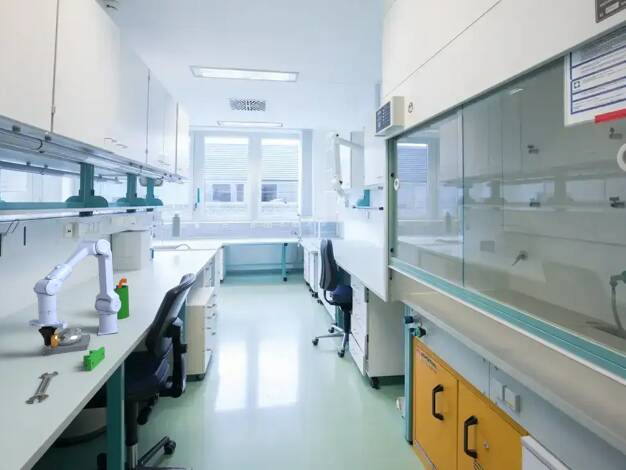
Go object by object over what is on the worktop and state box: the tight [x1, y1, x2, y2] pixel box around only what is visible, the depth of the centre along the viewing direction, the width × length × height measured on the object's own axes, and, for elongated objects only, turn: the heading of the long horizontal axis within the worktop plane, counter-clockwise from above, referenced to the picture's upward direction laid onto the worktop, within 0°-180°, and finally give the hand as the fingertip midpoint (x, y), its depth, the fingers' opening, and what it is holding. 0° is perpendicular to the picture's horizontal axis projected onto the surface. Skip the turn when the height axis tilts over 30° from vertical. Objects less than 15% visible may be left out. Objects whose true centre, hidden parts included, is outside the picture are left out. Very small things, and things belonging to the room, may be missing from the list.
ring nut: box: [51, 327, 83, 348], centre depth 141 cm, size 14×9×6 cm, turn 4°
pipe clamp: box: [82, 346, 106, 372], centre depth 129 cm, size 11×4×5 cm, turn 9°
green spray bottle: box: [114, 277, 130, 320], centre depth 184 cm, size 10×9×20 cm
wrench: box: [28, 370, 59, 405], centre depth 112 cm, size 5×2×20 cm
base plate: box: [43, 333, 91, 357], centre depth 144 cm, size 13×14×2 cm
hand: (48, 345), depth 135 cm, fingers closed
